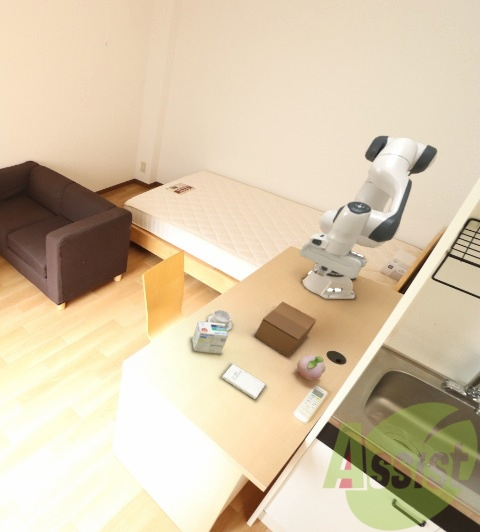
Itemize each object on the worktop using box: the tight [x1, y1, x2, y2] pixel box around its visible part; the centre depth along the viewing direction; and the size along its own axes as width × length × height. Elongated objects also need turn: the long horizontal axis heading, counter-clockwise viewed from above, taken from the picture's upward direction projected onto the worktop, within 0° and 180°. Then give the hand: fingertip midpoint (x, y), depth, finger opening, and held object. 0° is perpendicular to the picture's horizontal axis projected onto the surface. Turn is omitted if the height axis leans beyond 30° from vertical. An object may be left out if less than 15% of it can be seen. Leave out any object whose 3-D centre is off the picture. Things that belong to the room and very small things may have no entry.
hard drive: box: [221, 363, 266, 401], centre depth 128 cm, size 2×8×12 cm
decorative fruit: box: [296, 354, 326, 381], centre depth 129 cm, size 9×8×10 cm
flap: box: [273, 301, 317, 329], centre depth 144 cm, size 8×14×1 cm, turn 40°
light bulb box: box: [191, 320, 229, 355], centre depth 138 cm, size 11×7×11 cm, turn 84°
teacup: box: [207, 309, 233, 332], centre depth 151 cm, size 10×10×5 cm
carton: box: [254, 309, 317, 358], centre depth 144 cm, size 17×14×10 cm
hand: (320, 275), depth 138 cm, fingers closed
